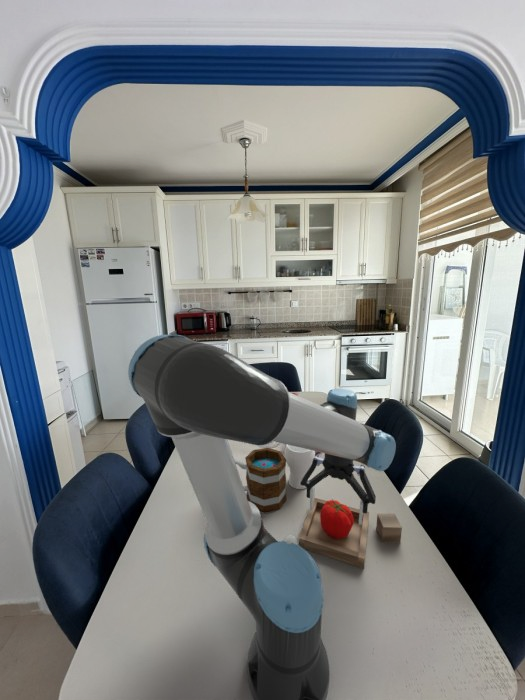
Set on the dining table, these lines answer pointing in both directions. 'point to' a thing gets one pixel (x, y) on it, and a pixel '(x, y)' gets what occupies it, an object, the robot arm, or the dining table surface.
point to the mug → (265, 479)
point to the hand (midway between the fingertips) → (335, 514)
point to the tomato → (336, 519)
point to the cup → (298, 464)
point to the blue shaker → (290, 539)
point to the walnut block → (388, 528)
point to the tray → (339, 549)
